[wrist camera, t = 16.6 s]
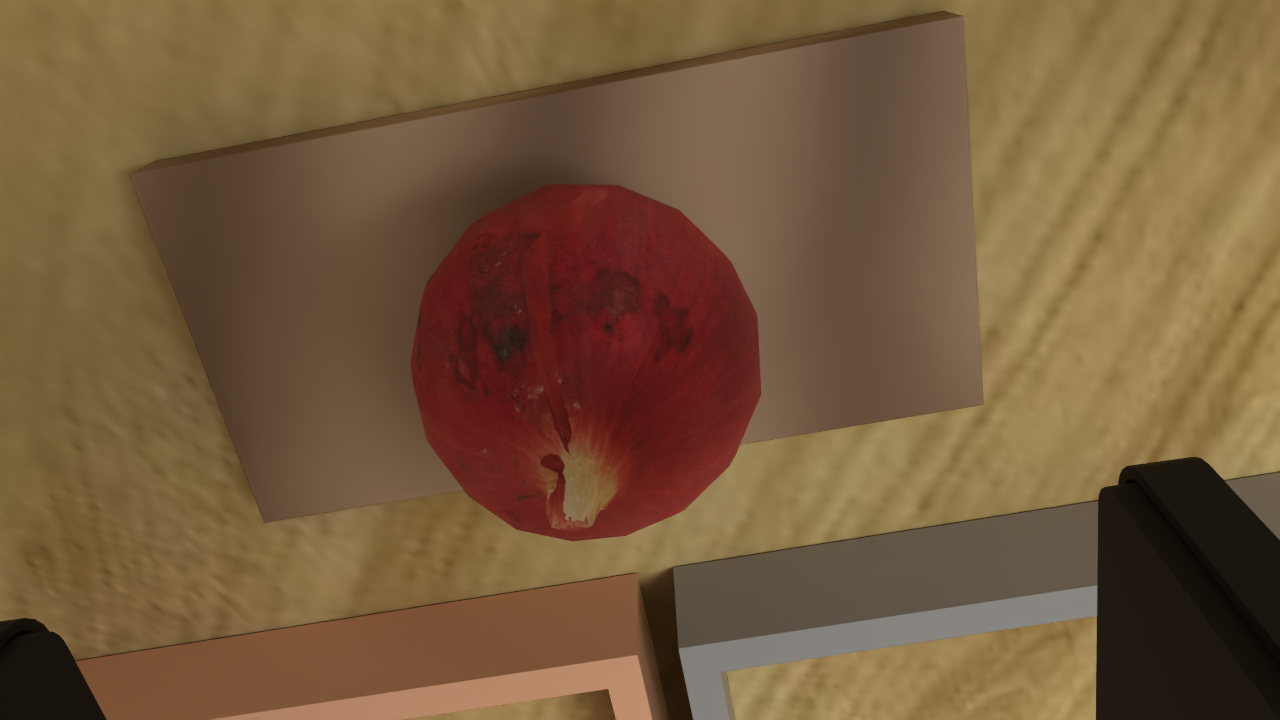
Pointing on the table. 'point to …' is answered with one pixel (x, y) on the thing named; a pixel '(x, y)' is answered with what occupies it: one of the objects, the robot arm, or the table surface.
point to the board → (587, 155)
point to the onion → (585, 361)
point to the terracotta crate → (403, 662)
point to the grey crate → (895, 590)
